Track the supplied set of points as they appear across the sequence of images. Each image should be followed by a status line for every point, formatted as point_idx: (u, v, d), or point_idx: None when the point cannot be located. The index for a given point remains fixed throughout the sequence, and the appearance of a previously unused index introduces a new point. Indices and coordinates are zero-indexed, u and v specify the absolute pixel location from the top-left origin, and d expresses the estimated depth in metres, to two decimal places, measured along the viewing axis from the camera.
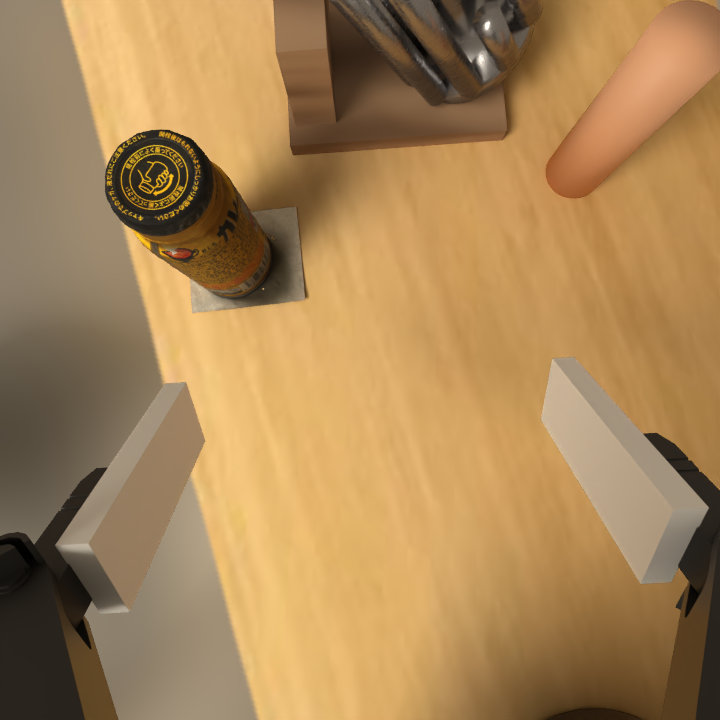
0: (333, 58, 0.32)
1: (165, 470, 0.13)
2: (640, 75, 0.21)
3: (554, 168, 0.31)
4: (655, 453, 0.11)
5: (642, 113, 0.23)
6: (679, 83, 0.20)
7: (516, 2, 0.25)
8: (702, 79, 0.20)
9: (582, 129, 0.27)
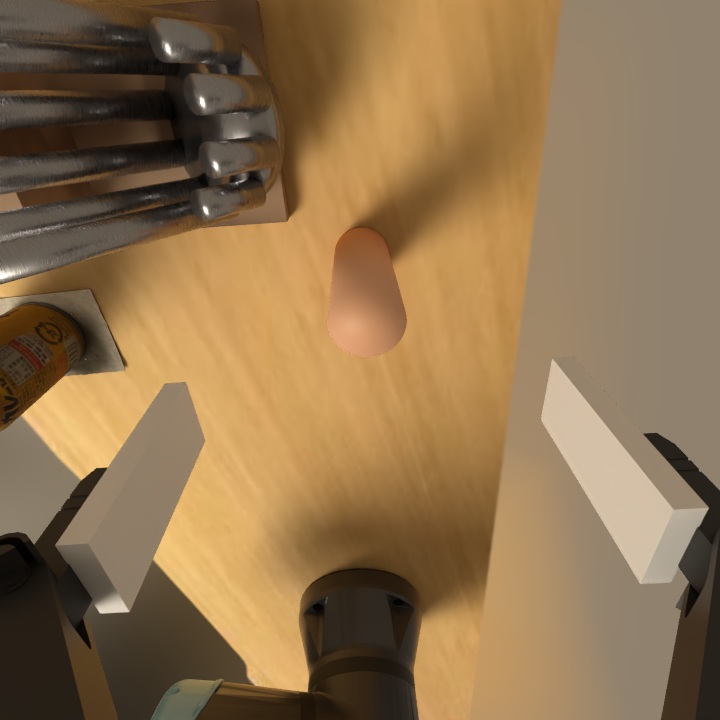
0: None
1: (165, 470, 0.13)
2: None
3: None
4: (655, 453, 0.11)
5: None
6: None
7: None
8: (375, 354, 0.23)
9: None
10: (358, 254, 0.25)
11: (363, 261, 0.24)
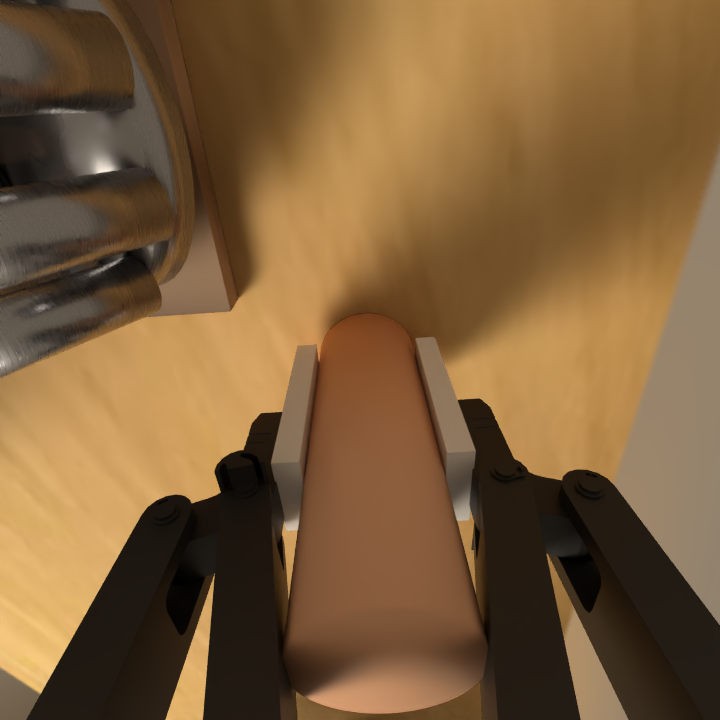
0: None
1: None
2: None
3: None
4: (457, 411, 0.13)
5: None
6: None
7: None
8: (404, 703, 0.09)
9: None
10: (362, 414, 0.12)
11: (375, 454, 0.10)
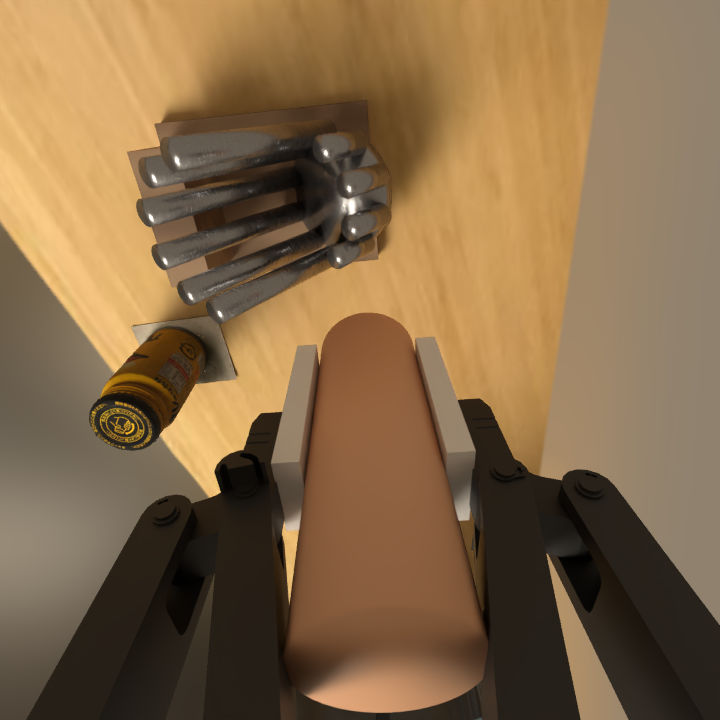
0: None
1: None
2: None
3: None
4: (457, 411, 0.13)
5: None
6: None
7: None
8: (406, 703, 0.09)
9: None
10: (364, 414, 0.12)
11: (376, 453, 0.10)
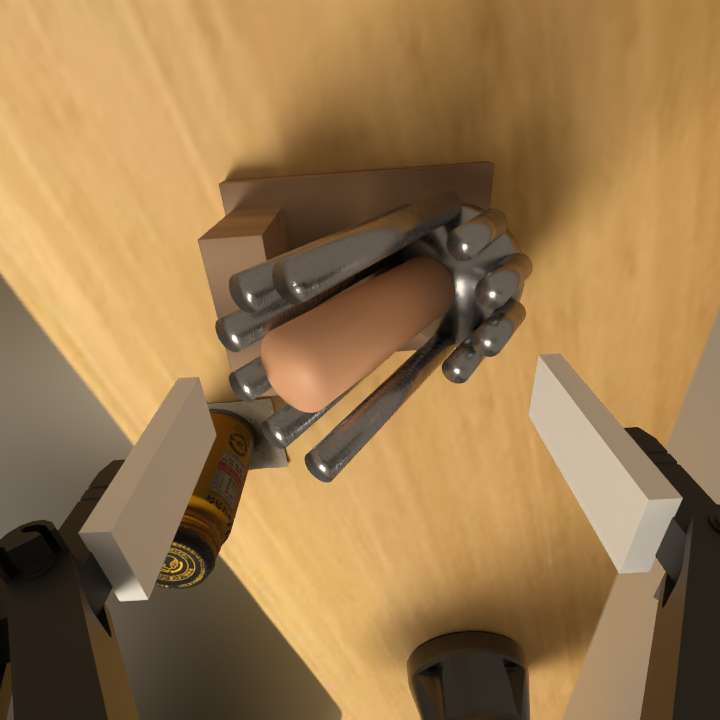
0: None
1: (180, 463, 0.13)
2: None
3: None
4: (634, 446, 0.11)
5: None
6: None
7: None
8: (307, 410, 0.19)
9: None
10: (358, 289, 0.21)
11: (344, 300, 0.20)
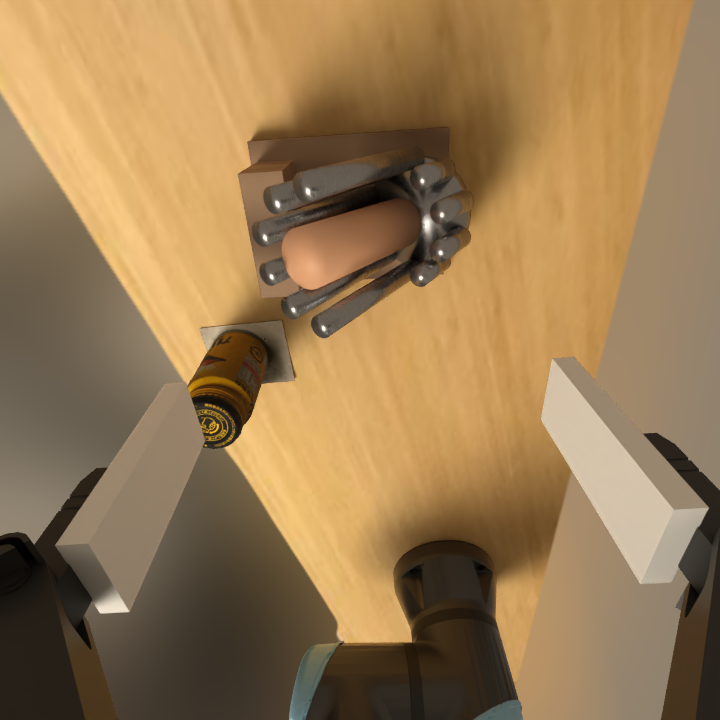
0: None
1: (165, 470, 0.13)
2: None
3: None
4: (655, 453, 0.11)
5: None
6: None
7: None
8: (313, 288, 0.28)
9: None
10: (349, 212, 0.30)
11: (338, 216, 0.29)
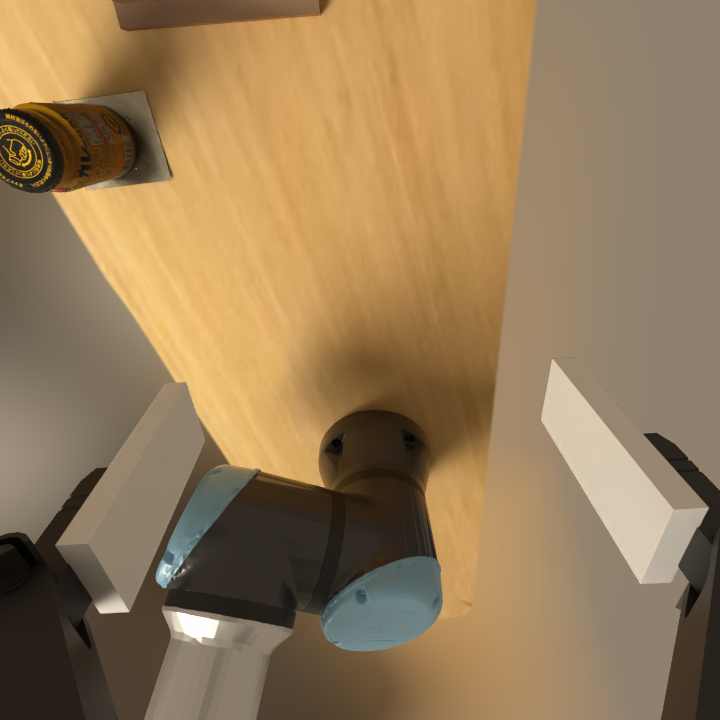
0: None
1: (165, 470, 0.13)
2: None
3: None
4: (655, 453, 0.11)
5: None
6: None
7: None
8: None
9: None
10: None
11: None
